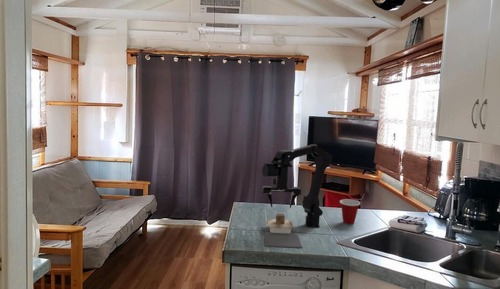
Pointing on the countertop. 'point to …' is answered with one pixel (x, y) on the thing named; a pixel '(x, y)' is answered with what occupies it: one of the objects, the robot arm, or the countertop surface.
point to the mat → (282, 240)
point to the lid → (280, 222)
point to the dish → (280, 230)
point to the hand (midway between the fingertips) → (280, 207)
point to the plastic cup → (349, 210)
